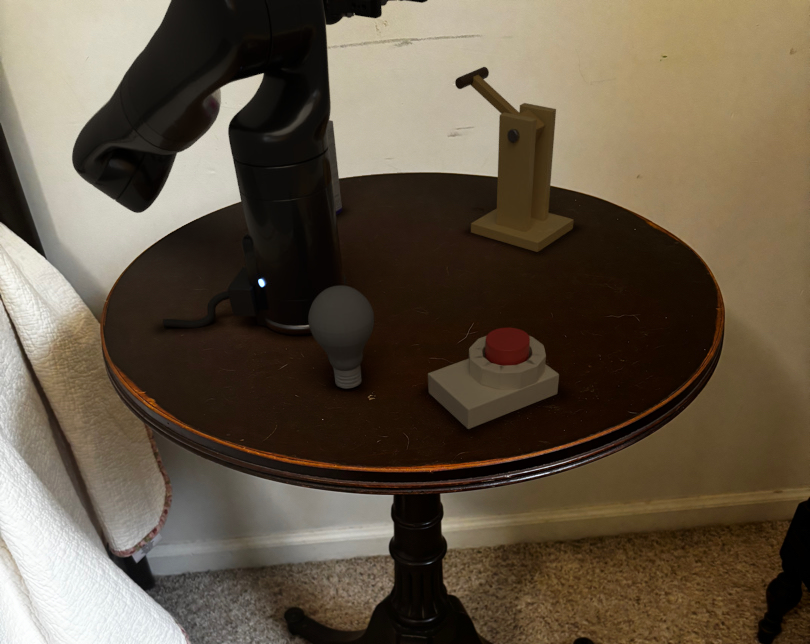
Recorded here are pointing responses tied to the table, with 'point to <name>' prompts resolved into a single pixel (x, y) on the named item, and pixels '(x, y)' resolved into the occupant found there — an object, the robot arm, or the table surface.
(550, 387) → the block
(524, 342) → the bell button
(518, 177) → the stand
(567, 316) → the table surface
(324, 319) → the light bulb
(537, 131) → the lever
